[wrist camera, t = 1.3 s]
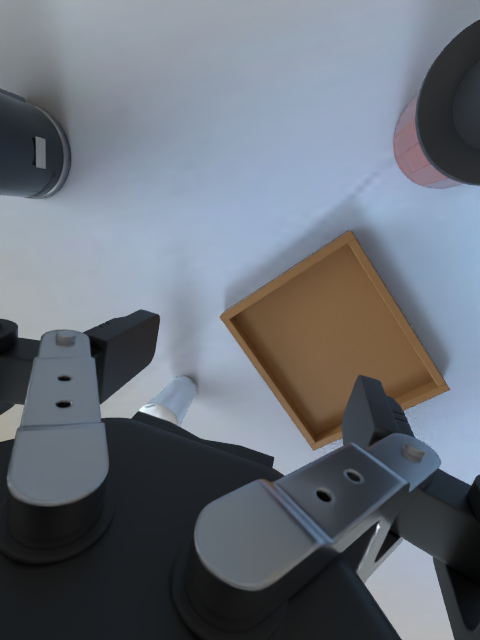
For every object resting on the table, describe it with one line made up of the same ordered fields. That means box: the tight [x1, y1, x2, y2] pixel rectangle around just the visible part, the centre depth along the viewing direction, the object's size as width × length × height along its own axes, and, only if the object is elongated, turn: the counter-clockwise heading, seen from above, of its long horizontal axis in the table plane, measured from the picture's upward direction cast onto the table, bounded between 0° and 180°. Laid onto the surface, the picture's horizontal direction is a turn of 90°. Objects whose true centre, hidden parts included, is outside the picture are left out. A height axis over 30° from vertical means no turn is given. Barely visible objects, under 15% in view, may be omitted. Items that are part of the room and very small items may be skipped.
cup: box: [393, 90, 464, 189], centre depth 26 cm, size 9×9×9 cm
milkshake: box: [139, 376, 196, 427], centre depth 38 cm, size 4×5×10 cm
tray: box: [220, 230, 450, 451], centre depth 36 cm, size 19×16×2 cm
